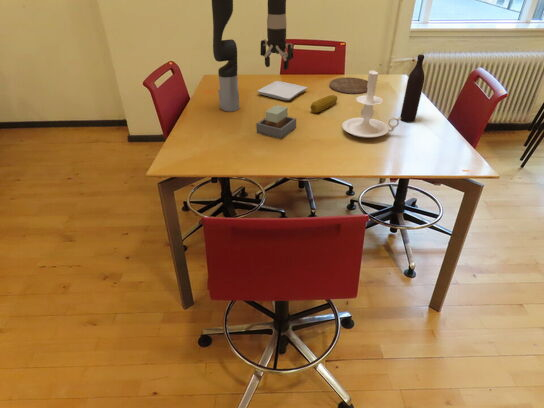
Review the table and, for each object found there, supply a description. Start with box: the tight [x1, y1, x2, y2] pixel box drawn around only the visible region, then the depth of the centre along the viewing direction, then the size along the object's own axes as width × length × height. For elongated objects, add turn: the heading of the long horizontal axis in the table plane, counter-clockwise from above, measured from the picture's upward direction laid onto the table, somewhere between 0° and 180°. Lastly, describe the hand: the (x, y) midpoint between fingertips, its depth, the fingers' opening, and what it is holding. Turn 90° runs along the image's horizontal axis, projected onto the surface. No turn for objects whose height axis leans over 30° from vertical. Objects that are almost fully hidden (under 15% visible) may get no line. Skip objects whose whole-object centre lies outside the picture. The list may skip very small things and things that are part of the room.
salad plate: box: [256, 80, 308, 101], centre depth 213 cm, size 21×21×3 cm
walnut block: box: [266, 116, 288, 129], centre depth 173 cm, size 6×9×5 cm, turn 149°
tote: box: [255, 116, 297, 140], centre depth 174 cm, size 13×14×4 cm
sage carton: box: [265, 105, 288, 123], centre depth 170 cm, size 6×9×4 cm, turn 148°
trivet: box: [328, 77, 368, 95], centre depth 222 cm, size 25×25×2 cm
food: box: [310, 94, 339, 114], centre depth 195 cm, size 21×6×6 cm, turn 142°
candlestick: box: [341, 70, 401, 139], centre depth 164 cm, size 21×25×28 cm
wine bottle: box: [399, 54, 425, 123], centre depth 175 cm, size 7×7×30 cm
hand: (276, 68), depth 159 cm, fingers open, 8 cm apart
